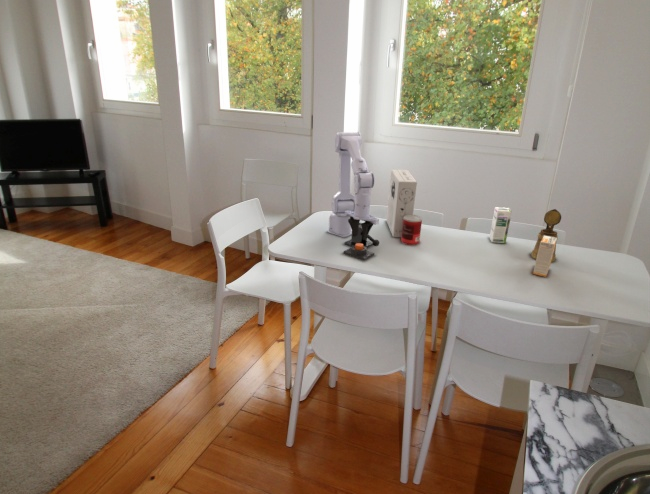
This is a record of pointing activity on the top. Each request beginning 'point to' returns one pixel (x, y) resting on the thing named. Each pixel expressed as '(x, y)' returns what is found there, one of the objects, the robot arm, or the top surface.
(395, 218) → the cereal box
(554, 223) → the brass disc-topped stand
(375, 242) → the lever
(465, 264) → the top surface
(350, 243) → the bracket
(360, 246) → the button
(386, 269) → the top surface
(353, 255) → the control block
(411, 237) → the canned food
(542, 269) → the supplement box
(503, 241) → the syrup box
